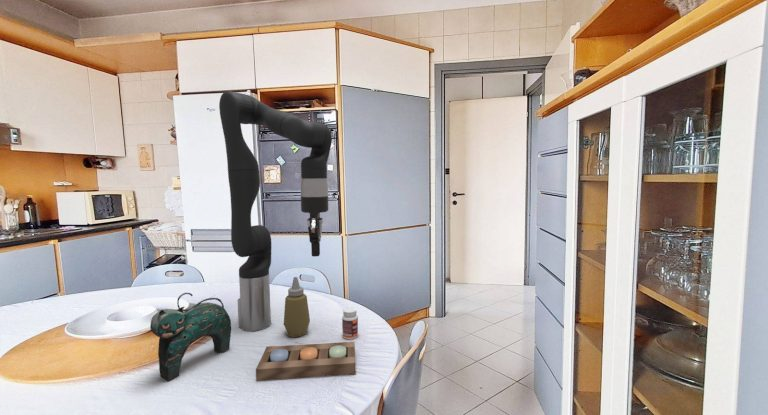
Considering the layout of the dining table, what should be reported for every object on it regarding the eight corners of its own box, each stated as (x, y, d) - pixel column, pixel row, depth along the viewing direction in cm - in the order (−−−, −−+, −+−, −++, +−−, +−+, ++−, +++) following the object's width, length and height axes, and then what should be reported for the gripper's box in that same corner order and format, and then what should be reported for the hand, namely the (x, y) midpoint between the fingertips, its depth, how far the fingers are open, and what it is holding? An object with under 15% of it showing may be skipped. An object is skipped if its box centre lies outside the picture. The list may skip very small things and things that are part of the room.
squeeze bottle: (315, 330, 110) (314, 275, 108) (299, 341, 102) (297, 282, 101) (295, 325, 113) (293, 272, 111) (278, 336, 106) (276, 279, 104)
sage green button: (329, 365, 88) (328, 354, 87) (330, 356, 92) (329, 345, 92) (346, 364, 88) (346, 353, 88) (346, 355, 92) (346, 344, 92)
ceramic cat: (163, 387, 80) (157, 305, 79) (148, 379, 84) (142, 300, 82) (235, 349, 98) (232, 281, 96) (221, 344, 101) (218, 278, 99)
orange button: (299, 367, 87) (299, 356, 87) (301, 358, 91) (301, 347, 91) (316, 366, 87) (316, 355, 87) (318, 357, 92) (318, 346, 91)
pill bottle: (355, 340, 103) (355, 313, 102) (340, 338, 104) (339, 312, 103) (359, 333, 107) (359, 307, 107) (345, 331, 108) (344, 306, 107)
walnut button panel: (256, 381, 83) (255, 369, 82) (266, 357, 93) (266, 346, 93) (355, 374, 85) (355, 362, 85) (354, 351, 96) (354, 341, 96)
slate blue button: (269, 369, 86) (268, 358, 86) (272, 360, 90) (272, 349, 90) (286, 368, 86) (286, 357, 86) (289, 359, 91) (289, 348, 91)
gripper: (326, 196, 89) (327, 261, 91) (329, 193, 102) (330, 250, 104) (297, 196, 88) (299, 262, 90) (303, 193, 101) (305, 250, 103)
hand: (315, 255), depth 97 cm, fingers closed
